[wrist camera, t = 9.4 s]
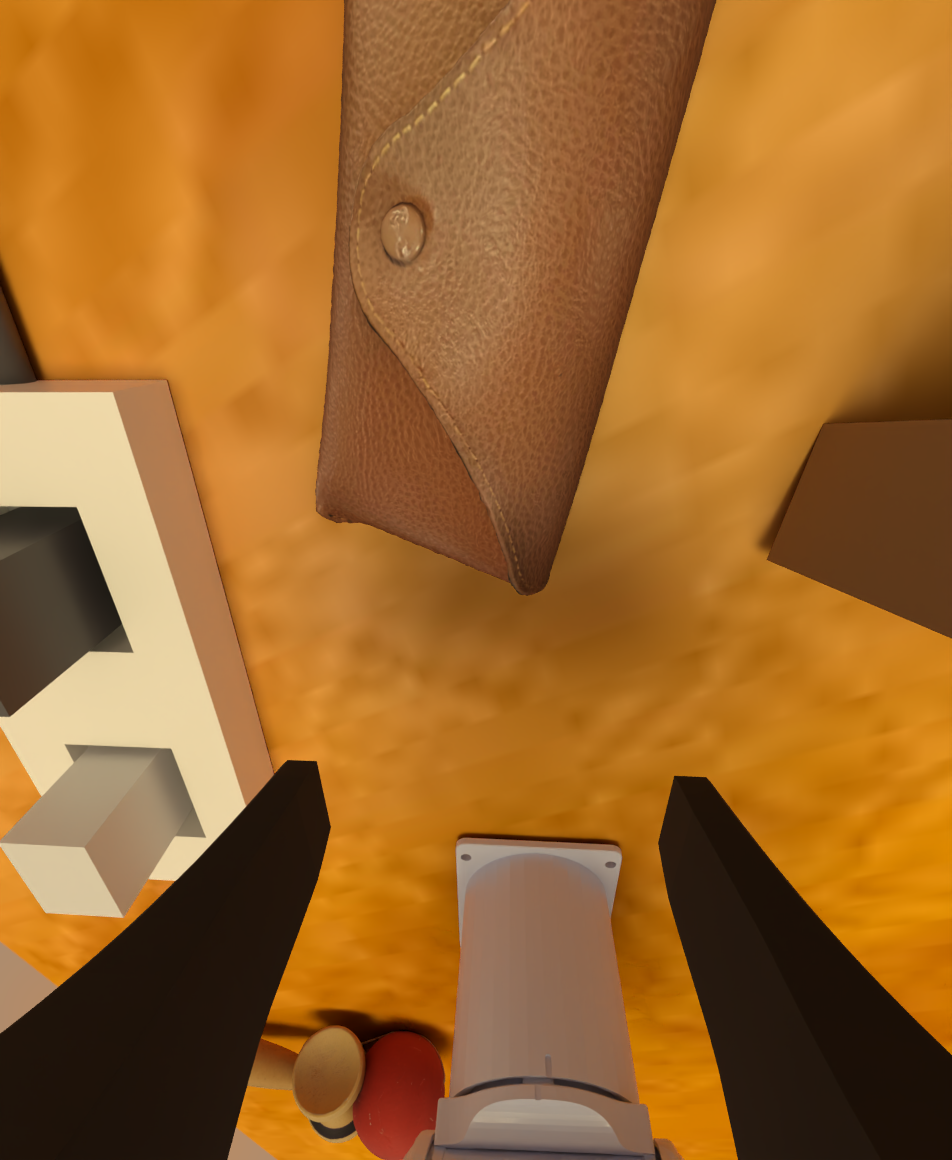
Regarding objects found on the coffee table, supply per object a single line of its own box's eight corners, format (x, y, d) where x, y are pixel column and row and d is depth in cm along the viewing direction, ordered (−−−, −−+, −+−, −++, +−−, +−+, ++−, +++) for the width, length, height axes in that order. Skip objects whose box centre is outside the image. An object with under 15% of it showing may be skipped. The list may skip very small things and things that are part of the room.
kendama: (229, 1028, 41) (454, 1088, 37) (168, 1133, 35) (428, 1215, 31) (216, 956, 38) (454, 1013, 35) (148, 1055, 32) (427, 1135, 29)
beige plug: (207, 783, 24) (123, 917, 19) (145, 780, 25) (45, 912, 19) (184, 718, 22) (84, 847, 17) (117, 716, 23) (-2, 842, 17)
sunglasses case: (323, -341, 10) (495, -921, 5) (607, -135, 13) (879, -354, 8) (311, 530, 18) (368, 640, 13) (484, 521, 22) (581, 607, 17)
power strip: (291, 837, 27) (230, 984, 21) (122, 829, 27) (18, 970, 21) (36, -100, 12) (-430, -492, 6) (-333, -78, 12) (-1089, -417, 6)
